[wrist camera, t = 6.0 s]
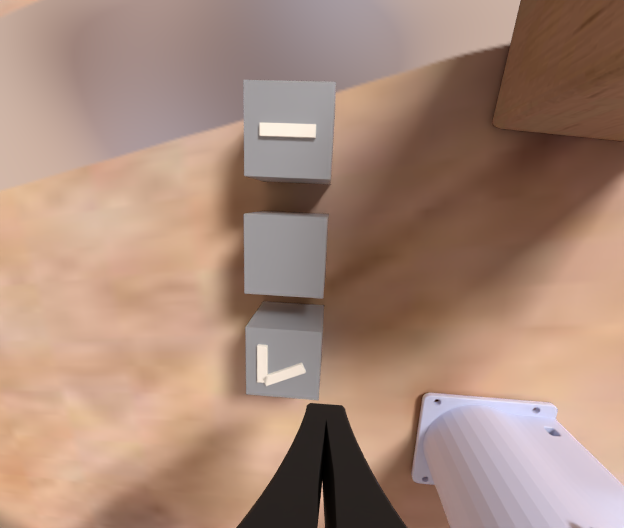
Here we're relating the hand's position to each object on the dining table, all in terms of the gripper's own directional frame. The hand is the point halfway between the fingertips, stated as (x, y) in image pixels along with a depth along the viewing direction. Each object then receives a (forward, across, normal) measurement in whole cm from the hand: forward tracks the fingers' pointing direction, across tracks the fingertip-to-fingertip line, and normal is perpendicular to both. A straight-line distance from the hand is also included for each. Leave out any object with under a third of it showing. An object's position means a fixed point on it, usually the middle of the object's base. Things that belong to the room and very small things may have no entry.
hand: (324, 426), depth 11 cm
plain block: (+11, +2, -5) cm, 12 cm away
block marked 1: (+11, +2, -12) cm, 16 cm away
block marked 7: (+11, +2, +2) cm, 11 cm away
